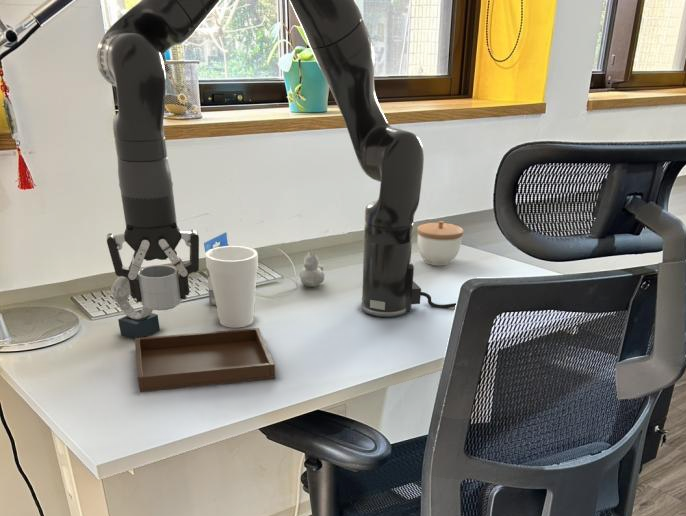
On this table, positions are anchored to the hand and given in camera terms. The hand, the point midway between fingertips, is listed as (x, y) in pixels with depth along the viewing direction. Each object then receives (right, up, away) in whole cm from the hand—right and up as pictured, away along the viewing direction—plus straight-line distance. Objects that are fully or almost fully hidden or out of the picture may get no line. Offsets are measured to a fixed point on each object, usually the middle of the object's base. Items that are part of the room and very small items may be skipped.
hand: (161, 298), depth 114 cm
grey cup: (0, -1, +1) cm, 1 cm away
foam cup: (+8, +1, +22) cm, 23 cm away
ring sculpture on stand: (-8, -2, +16) cm, 18 cm away
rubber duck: (+22, +13, +40) cm, 47 cm away
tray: (+6, -10, +6) cm, 13 cm away
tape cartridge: (+5, +8, +31) cm, 33 cm away
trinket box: (+51, +23, +56) cm, 79 cm away
